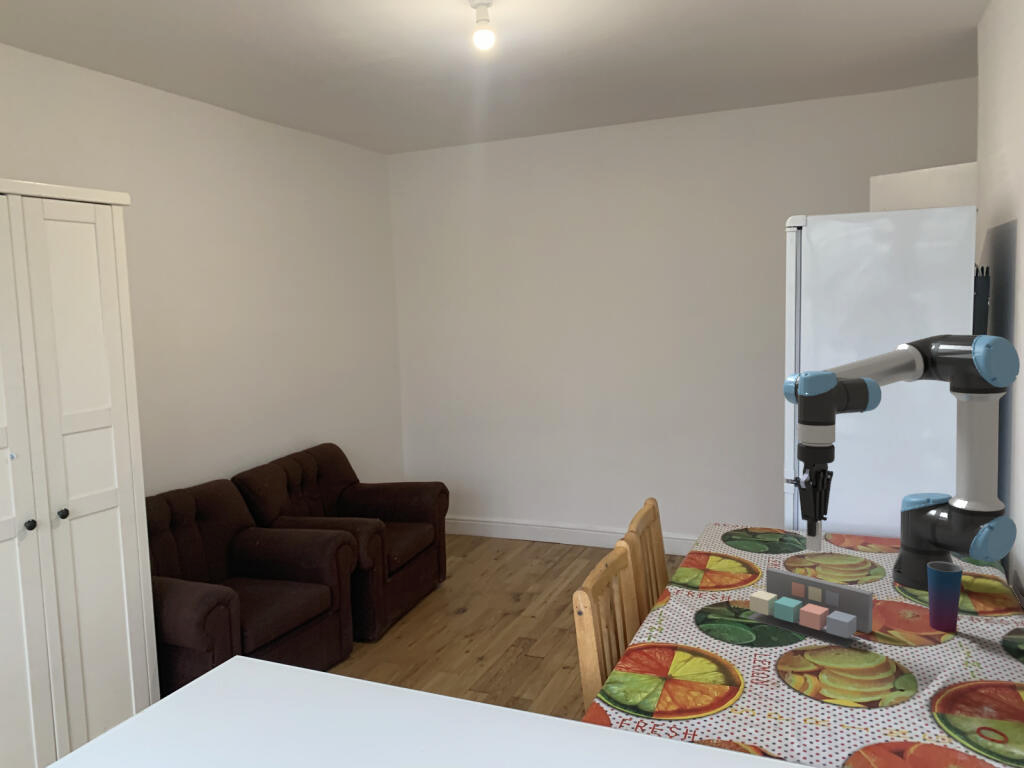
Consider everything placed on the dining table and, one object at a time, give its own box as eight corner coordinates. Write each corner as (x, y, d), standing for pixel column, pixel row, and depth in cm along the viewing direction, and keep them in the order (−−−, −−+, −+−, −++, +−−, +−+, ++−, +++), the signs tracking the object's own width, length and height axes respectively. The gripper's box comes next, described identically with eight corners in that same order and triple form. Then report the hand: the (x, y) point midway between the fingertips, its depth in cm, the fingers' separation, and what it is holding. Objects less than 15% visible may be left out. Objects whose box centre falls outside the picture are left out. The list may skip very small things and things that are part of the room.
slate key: (835, 625, 167) (835, 610, 167) (856, 631, 164) (856, 616, 163) (826, 632, 164) (826, 616, 164) (847, 638, 161) (847, 622, 160)
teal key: (783, 611, 176) (783, 596, 175) (802, 616, 172) (802, 601, 172) (773, 617, 173) (774, 602, 172) (793, 622, 169) (793, 607, 169)
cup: (965, 639, 165) (967, 572, 164) (931, 637, 167) (933, 571, 165) (953, 626, 172) (956, 561, 170) (921, 624, 173) (922, 560, 172)
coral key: (808, 618, 171) (808, 603, 171) (828, 624, 168) (828, 608, 168) (799, 624, 168) (799, 609, 168) (819, 630, 165) (819, 614, 165)
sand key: (759, 604, 180) (759, 590, 180) (777, 609, 177) (777, 594, 176) (749, 610, 177) (749, 595, 177) (767, 615, 174) (767, 600, 173)
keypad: (771, 606, 186) (771, 566, 185) (872, 635, 169) (873, 591, 168) (737, 626, 175) (737, 584, 174) (842, 659, 158) (843, 613, 157)
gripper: (812, 437, 171) (810, 539, 174) (785, 445, 162) (783, 552, 165) (846, 441, 166) (843, 546, 168) (819, 449, 157) (817, 560, 159)
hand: (813, 549), depth 166 cm, fingers closed
